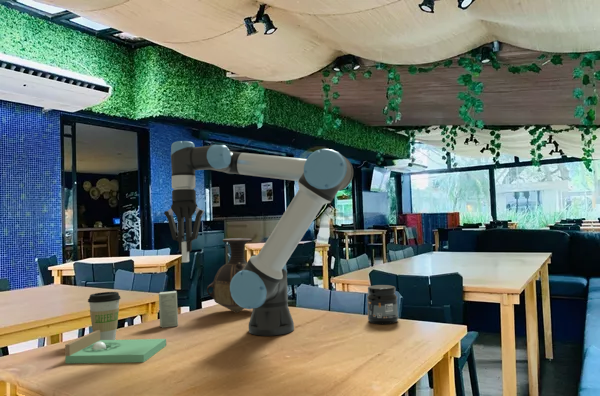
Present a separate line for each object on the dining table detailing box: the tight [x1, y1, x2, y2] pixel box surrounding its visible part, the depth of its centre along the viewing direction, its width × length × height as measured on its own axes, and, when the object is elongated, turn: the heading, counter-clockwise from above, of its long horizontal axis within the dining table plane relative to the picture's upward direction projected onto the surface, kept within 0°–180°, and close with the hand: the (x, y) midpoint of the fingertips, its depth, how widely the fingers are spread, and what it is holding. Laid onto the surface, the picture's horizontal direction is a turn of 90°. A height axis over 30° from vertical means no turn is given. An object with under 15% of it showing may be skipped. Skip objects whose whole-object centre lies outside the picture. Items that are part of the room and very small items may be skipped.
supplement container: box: [366, 284, 399, 325], centre depth 157 cm, size 10×10×12 cm
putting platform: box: [64, 330, 167, 364], centre depth 129 cm, size 22×16×5 cm
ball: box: [92, 342, 106, 350], centre depth 130 cm, size 4×4×4 cm
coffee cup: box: [87, 291, 122, 340], centre depth 145 cm, size 10×10×15 cm
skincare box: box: [158, 290, 179, 328], centre depth 163 cm, size 6×4×12 cm
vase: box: [206, 237, 253, 314], centre depth 183 cm, size 23×19×30 cm
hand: (185, 261), depth 145 cm, fingers closed
